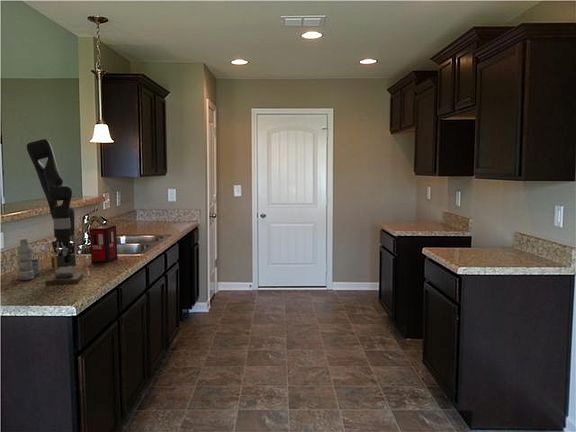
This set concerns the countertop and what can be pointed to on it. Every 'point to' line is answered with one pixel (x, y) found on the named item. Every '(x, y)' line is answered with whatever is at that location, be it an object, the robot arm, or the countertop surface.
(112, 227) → the cleaning product box
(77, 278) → the coupling base
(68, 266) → the grey piece
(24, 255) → the plastic bottle
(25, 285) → the countertop surface
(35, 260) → the medicine box
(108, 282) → the countertop surface
